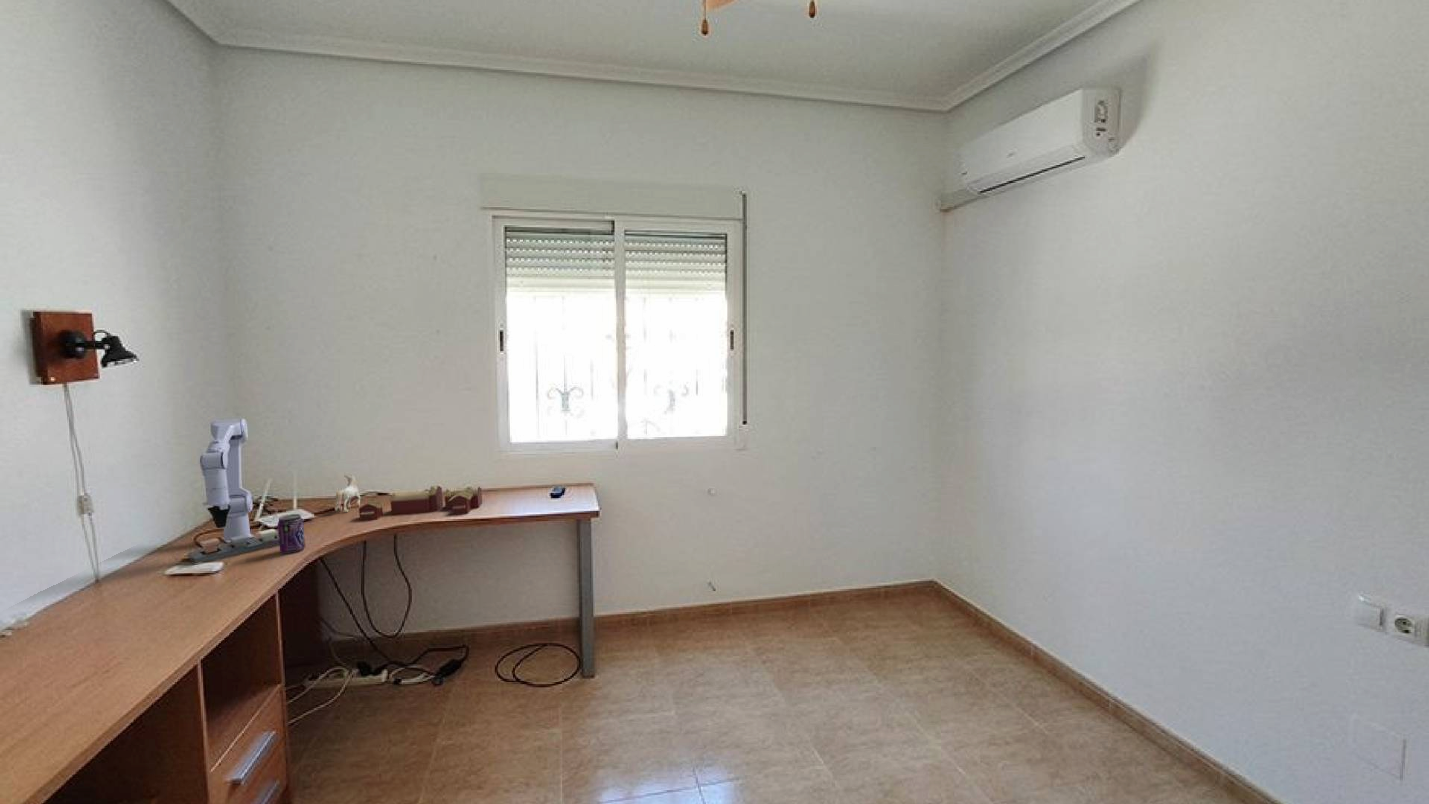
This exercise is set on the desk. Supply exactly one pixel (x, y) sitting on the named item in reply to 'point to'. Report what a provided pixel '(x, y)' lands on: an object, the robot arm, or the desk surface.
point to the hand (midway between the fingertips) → (221, 527)
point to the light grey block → (239, 540)
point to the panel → (233, 549)
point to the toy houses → (425, 502)
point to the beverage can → (291, 533)
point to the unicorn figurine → (347, 494)
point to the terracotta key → (210, 545)
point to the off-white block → (267, 534)
